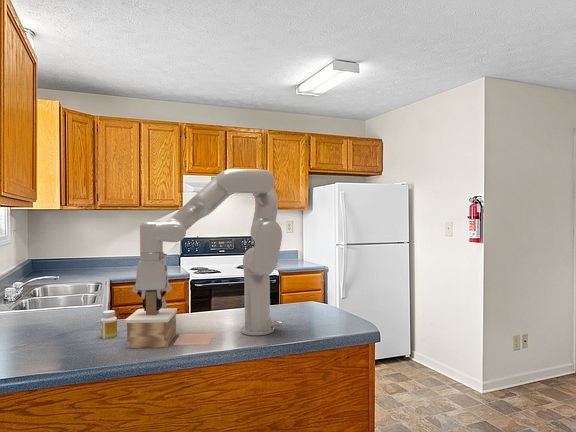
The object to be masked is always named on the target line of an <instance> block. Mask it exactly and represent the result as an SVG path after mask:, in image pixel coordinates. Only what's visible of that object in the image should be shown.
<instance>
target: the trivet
mask: <svg viewBox="0 0 576 432" xmlns="http://www.w3.org/2000/svg"><path fill="white" fill-rule="evenodd" d="M213 335H214V333H181V334H179V336H178V337H176V340H175V341H174V342H173V344H172V345H173V346H183V345H184V346H187V345H188V346H189V345H191V346H192V345H195V346H196V345H197V346H198V345H209V344H211V340H212V338H213Z"/></svg>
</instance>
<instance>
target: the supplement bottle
mask: <svg viewBox="0 0 576 432" xmlns="http://www.w3.org/2000/svg"><path fill="white" fill-rule="evenodd" d="M102 316H103V317H102V318H101V319H100V335H101V336H100V338H101V339H103V340H110V339H115V338H117V337H118V317H117V316H116V311H115V310H113V309H111V310H110V309H109V310H103V311H102Z"/></svg>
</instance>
